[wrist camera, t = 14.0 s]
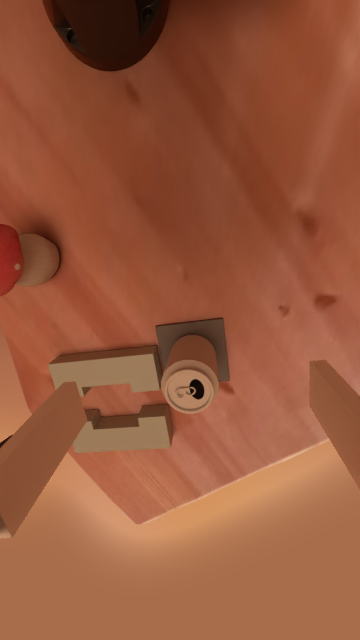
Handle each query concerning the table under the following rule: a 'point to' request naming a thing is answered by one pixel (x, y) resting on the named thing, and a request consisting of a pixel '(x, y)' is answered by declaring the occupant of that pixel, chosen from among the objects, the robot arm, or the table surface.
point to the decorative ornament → (25, 259)
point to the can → (191, 375)
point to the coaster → (204, 328)
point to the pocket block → (108, 370)
